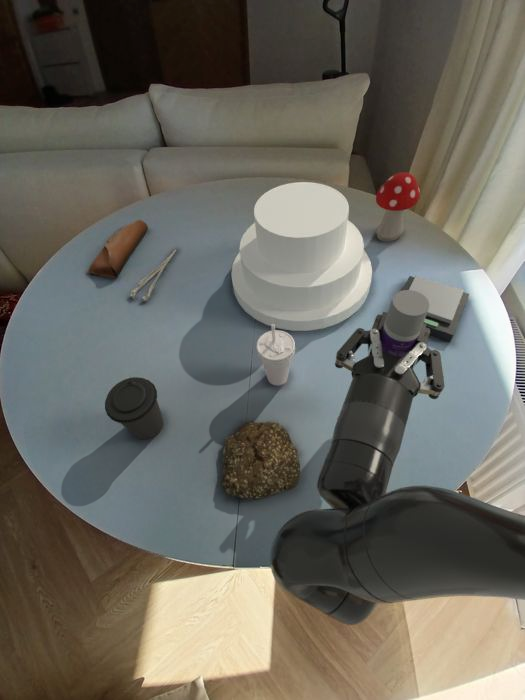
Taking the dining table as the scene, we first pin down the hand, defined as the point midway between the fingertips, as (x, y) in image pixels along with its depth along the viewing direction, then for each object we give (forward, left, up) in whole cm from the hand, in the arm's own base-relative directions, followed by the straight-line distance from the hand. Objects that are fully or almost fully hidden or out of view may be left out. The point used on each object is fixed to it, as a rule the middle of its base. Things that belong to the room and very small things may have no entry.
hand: (403, 321), depth 55 cm
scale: (-2, -21, -17) cm, 28 cm away
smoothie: (+17, +7, -18) cm, 25 cm away
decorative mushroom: (+13, -41, -18) cm, 47 cm away
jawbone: (+55, -5, -18) cm, 58 cm away
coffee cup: (+32, +26, -18) cm, 45 cm away
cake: (+25, -18, -18) cm, 36 cm away
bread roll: (+12, +22, -18) cm, 30 cm away
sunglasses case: (+69, -7, -18) cm, 72 cm away
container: (0, +3, -9) cm, 9 cm away
